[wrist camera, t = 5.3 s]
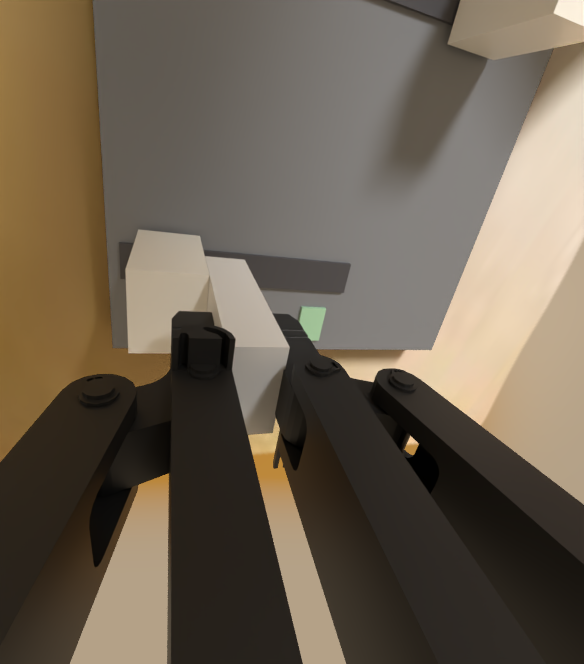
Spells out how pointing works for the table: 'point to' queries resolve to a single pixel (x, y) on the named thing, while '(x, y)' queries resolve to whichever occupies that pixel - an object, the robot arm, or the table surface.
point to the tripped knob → (162, 287)
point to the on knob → (516, 26)
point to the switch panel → (308, 151)
